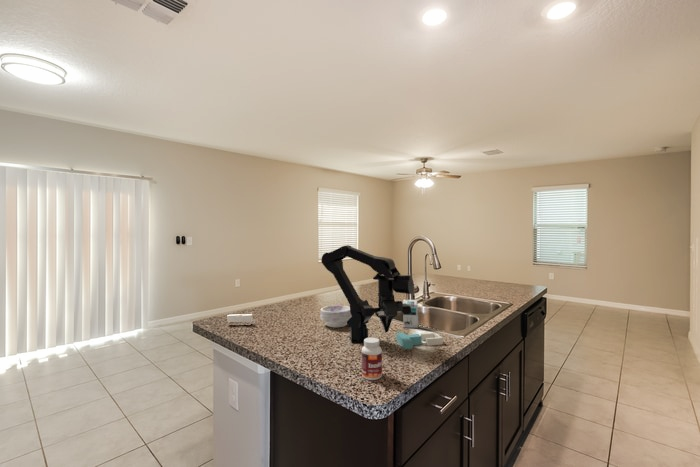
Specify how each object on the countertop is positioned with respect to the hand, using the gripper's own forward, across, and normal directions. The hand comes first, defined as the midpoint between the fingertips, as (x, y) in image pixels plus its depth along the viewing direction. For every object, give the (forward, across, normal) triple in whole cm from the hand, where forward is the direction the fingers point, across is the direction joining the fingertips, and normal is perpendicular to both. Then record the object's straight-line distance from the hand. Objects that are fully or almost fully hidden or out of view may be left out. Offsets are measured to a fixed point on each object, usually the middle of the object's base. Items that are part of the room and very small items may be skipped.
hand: (386, 332), depth 122 cm
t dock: (+5, +18, 0) cm, 19 cm away
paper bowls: (+6, -15, +31) cm, 35 cm away
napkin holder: (+6, -60, +40) cm, 73 cm away
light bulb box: (+5, +19, +24) cm, 31 cm away
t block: (+5, +10, 0) cm, 11 cm away
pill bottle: (+5, -11, -24) cm, 27 cm away
